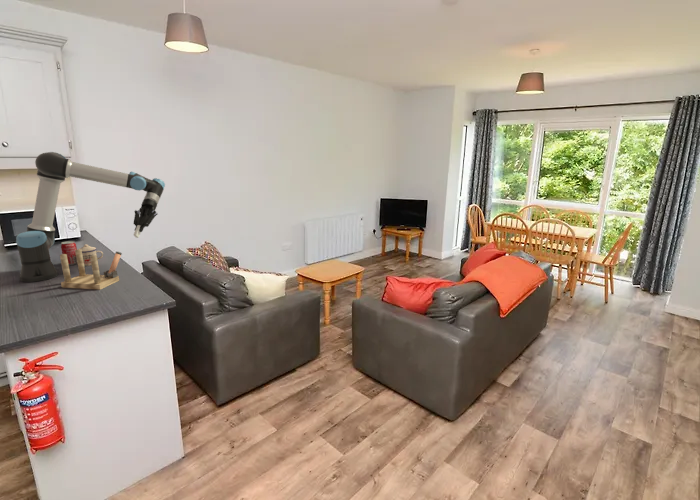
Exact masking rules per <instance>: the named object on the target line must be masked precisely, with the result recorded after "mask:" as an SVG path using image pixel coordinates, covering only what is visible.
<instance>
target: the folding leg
mask: <svg viewBox="0 0 700 500" xmlns="http://www.w3.org/2000/svg"><path fill="white" fill-rule="evenodd" d="M122 255H123V253H122V252H120V251H115V254H114V256H113V259H112V262H111V264H110V267H109V269H108V270H109V272H107V274H106V275H107V276H109V277H112V272H114V271H117V267H118V265H119V262H120V260H121V259H120V258H121V257H122Z"/></svg>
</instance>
